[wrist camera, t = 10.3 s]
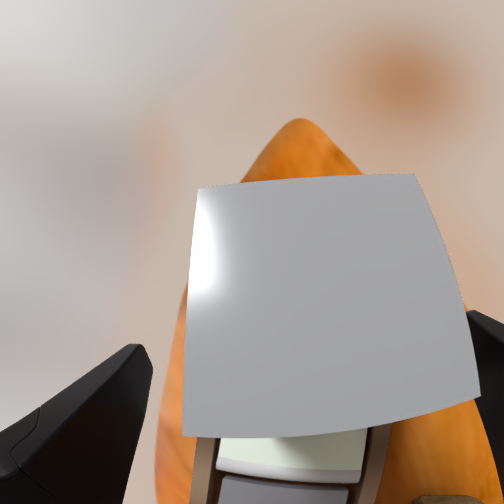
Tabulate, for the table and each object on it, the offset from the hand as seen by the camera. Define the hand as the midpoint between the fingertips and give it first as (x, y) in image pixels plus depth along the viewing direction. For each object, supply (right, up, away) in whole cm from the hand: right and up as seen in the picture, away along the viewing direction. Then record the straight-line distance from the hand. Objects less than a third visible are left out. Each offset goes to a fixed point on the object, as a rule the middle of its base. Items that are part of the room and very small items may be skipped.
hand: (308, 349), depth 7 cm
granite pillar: (+1, -5, +8) cm, 10 cm away
